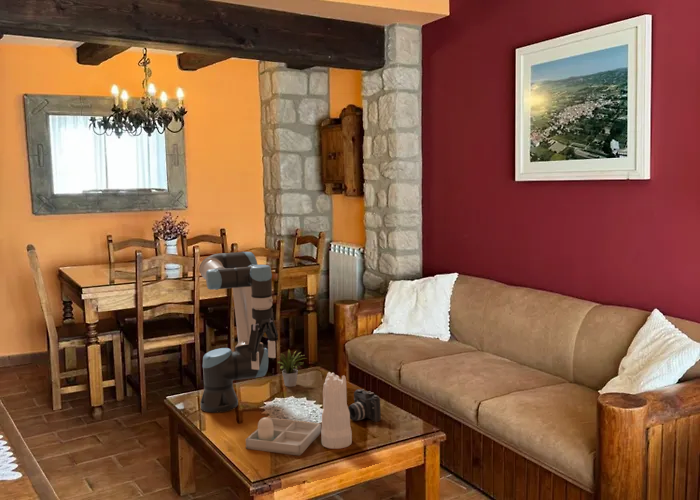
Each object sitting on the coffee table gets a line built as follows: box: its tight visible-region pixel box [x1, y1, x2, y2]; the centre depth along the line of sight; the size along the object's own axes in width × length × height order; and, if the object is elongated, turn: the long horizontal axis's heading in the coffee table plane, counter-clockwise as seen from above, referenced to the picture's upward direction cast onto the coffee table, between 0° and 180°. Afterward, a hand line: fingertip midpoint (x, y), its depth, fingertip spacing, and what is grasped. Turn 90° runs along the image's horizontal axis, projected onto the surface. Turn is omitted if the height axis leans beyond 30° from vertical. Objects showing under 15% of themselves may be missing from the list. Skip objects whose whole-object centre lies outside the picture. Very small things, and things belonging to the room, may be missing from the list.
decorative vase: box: [320, 371, 353, 450], centre depth 236 cm, size 11×11×25 cm
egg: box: [257, 416, 274, 441], centre depth 236 cm, size 6×6×9 cm
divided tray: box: [245, 417, 322, 457], centre depth 240 cm, size 20×20×4 cm
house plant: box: [275, 348, 307, 388], centre depth 298 cm, size 14×14×16 cm
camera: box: [348, 388, 382, 423], centre depth 259 cm, size 14×11×10 cm
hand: (263, 363), depth 247 cm, fingers open, 13 cm apart
